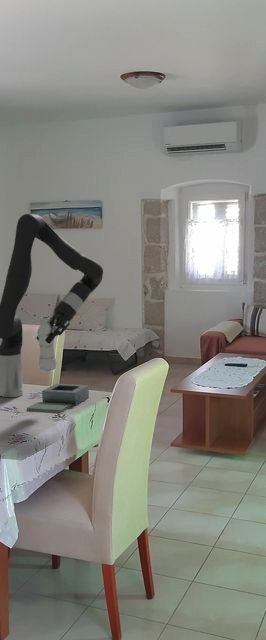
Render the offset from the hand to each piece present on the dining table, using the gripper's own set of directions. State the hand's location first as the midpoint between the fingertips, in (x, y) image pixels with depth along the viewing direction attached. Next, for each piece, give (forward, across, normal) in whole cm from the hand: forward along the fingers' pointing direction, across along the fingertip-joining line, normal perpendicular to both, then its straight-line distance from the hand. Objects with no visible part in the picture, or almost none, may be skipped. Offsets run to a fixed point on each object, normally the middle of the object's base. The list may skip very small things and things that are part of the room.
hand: (42, 341), depth 240 cm
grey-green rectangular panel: (+17, 0, +19) cm, 26 cm away
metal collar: (+9, -7, +27) cm, 30 cm away
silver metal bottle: (+7, 0, +9) cm, 12 cm away
